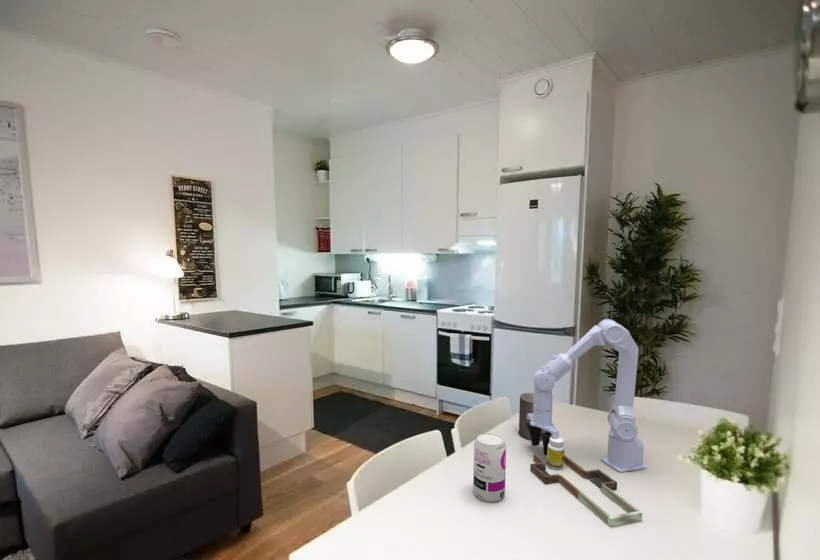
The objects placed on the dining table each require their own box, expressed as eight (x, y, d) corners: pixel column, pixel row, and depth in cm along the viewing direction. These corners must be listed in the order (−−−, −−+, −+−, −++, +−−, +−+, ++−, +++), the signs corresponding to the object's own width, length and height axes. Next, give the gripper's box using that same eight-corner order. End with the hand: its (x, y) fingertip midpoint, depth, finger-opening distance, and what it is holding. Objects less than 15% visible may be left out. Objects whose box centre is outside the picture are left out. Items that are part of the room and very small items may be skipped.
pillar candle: (512, 432, 146) (513, 391, 145) (532, 427, 150) (533, 387, 149) (533, 443, 137) (534, 400, 136) (553, 437, 142) (554, 395, 141)
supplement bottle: (564, 470, 120) (566, 444, 119) (547, 468, 121) (549, 442, 120) (561, 461, 125) (563, 436, 123) (545, 459, 125) (547, 434, 124)
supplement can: (506, 488, 110) (507, 434, 109) (502, 506, 102) (504, 448, 102) (476, 483, 113) (477, 430, 112) (470, 499, 105) (471, 443, 104)
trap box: (569, 455, 129) (570, 449, 129) (655, 518, 98) (656, 510, 98) (520, 462, 125) (521, 455, 125) (595, 530, 94) (595, 522, 94)
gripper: (519, 401, 134) (518, 441, 135) (544, 418, 120) (543, 462, 121) (538, 399, 136) (537, 439, 137) (565, 416, 122) (564, 459, 123)
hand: (541, 450), depth 129 cm, fingers open, 6 cm apart
